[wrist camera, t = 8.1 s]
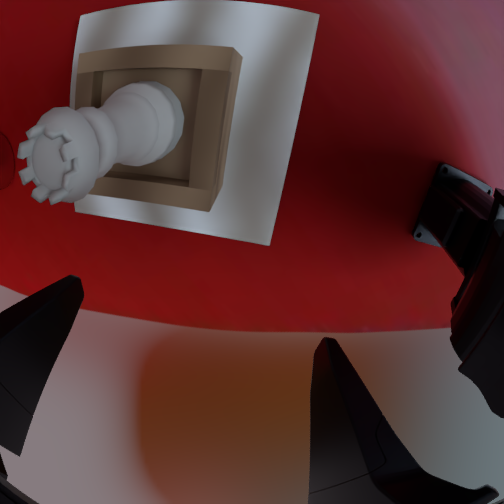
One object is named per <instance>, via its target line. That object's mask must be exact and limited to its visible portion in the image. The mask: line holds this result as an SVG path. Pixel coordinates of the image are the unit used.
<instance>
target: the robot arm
mask: <svg viewBox="0 0 504 504" xmlns="http://www.w3.org/2000/svg"><path fill="white" fill-rule="evenodd" d="M444 167H445V171H444V172H442V170H443V168H444ZM487 191H488V192H487ZM492 193H493V190H492V188H491V187H490V186H489V185H487V184H485V183H483V182H481V181H480V180H478V179H476V178H474V177H472V176H470V175H468V174H466V173H464V172H463V171H461V170H459V169H456V168H454V167H452V166H450V165H448V164H446V163H443V162H442V163H440V164H439V165H438V167H437V170H436V173H435V176H434V179H433V181H432V184H431V187H430V188H429V191H428V193H427V196H426V198H425V201H424V203H423V206H422V208H421V211H420V213H419V217H418V219H417V222H416V224H415V226H414V229H413V231H412V236H413V238H414V239H415V240H417V241H420V242H424V243H428V244H431V245H435V246H438V247H442V248H443V249H444V250H445V252H446V253H447V254H448V256H449V257H450V258H451V259H452V261H453V262H454V263H455V265H456V266H457V268H458V269H459V270H460V272H461V273H462V275H463V276H464V277H465V278H464V280H463V282H462V284H461V286H460V288H459V291H458V293H457V295H456V296H455V297H454V298H453V300H452V301H451V309H452V318H451V332H452V335H451V336H450V341H451V343H452V346H453V348H454V351H455V352H456V354H457V355H458V357H459V358H460V360H461V361H462V364H461V365H460V366H459V368H458V370H459V372H461V373H462V374H464V375H465V376H467V377H468V378H469V379H471V380H472V381H473V383H474V384H475V385H476V386H477V387H478V388H479V389H480V391H481V392H482V394H483V396H484V398H485V399H486V402H487V403H488V405H489V407H490V409H491V411H492V412H493V413H495V414H496V415H498V416H499V417H501V418H504V190H502V189H498V188H495V192H494V198H493V197H491V196H492ZM419 232H420V233H419ZM417 233H419V235H417ZM83 298H84V291H83V287H82V283H81V279H80V278H79V277H77V276H74V275H69V276H67V277H65V278H63V279H61V280H59V281H57V282H55V283H53V284H51V285H49V286H47V287H45V288H44V289H42V290H40V291H38V292H36V293H34V294H32V295H31V296H29V297H27V298H25V299H23V300H22V301H20V302H18V303H16V304H15V305H13V306H11V307H9V308H8V309H6V310H4V311H2V312H1V313H0V445H1V446H3V447H4V448H6V449H8V450H9V451H11V452H12V453H14V454H16V455H18V456H20V455H21V452H22V449H23V445H24V442H25V439H26V436H27V433H28V430H29V426H30V424H31V421H32V418H33V415H34V412H35V409H36V406H37V404H38V401H39V399H40V396H41V394H42V391H43V389H44V386H45V384H46V382H47V379H48V377H49V375H50V372H51V370H52V368H53V366H54V363H55V361H56V359H57V357H58V355H59V353H60V351H61V349H62V347H63V345H64V342H65V340H66V338H67V336H68V334H69V332H70V330H71V328H72V325H73V323H74V320H75V318H76V315H77V313H78V310H79V308H80V306H81V303H82V301H83ZM7 476H8V475H7V472H6V470H5V467H4V464H3V461H2V457H1V454H0V504H39V503H37V502H36V501H34V500H32V499H31V498H30V497H28V496H27V495H25V494H24V493H22V492H21V491H19V490H18V489H17V488H16V487H14V486H13V485H12V484H10V483H9V482H8V481H7ZM498 496H499V493H498V491H497V490H496V489H495V488H493V487H491V486H489V485H484V486H481V487H479V488H477V489H467V488H464V487H461V486H458V485H456V484H453V483H450V482H448V481H445V480H443V479H440V478H438V477H435V476H433V475H431V474H429V473H427V472H426V471H424V470H423V469H422V468H421V467H420V465H419V464H418V463H417V462H416V460H415V459H414V458H413V457H412V455H411V454H410V453H409V451H408V450H407V449H406V447H405V446H404V445H403V443H402V442H401V441H400V439H399V438H398V437H397V435H396V434H395V432H394V431H393V430H392V428H391V426H390V425H389V423H388V421H387V420H386V418H385V417H384V415H382V412H381V410H380V409H379V407H378V405H377V404H376V402H375V401H374V399H373V397H372V396H371V394H370V393H369V391H368V389H367V388H366V386H365V385H364V383H363V381H362V380H361V378H360V377H359V375H358V373H357V372H356V370H355V369H354V367H353V366H352V364H351V363H350V361H349V359H348V358H347V356H346V355H345V353H344V352H343V350H342V348H341V347H340V345H339V344H338V342H337V341H336V340H335V339H333V338H328V337H324V338H323V339H322V340H321V342H320V344H319V345H318V347H317V349H316V350H315V353H314V359H313V370H312V381H311V390H310V476H309V497H308V504H487V503H489V502H490V501H492V500H494V499H495V498H497V497H498ZM492 504H504V499H502V500H499V501H497V502H495V503H492Z"/></svg>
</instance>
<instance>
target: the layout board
mask: <svg viewBox="0 0 504 504" xmlns="http://www.w3.org/2000/svg"><path fill="white" fill-rule="evenodd" d="M318 20H319V14H315V13H311V12H306V11H302V10H297V9H292V8H286V7H281V6H274V5H267V4H260V3H251V2H240V1H225V0H177V1H162V2H151V3H143V4H135V5H128V6H122V7H117V8H111V9H106V10H102V11H97V12H93V13H89V14H85V15H81V17H80V21H79V26H78V32H77V38H76V44H75V51H74V58H73V67H72V77H71V90H70V108H71V109H73V110H75V111H76V110H77V109H79V108H81V107H95V108H97V109H98V108H100V107H102V106H103V105H104V103H105V101H106V100H107V99H108V98H109V97H110V96H111V95H112V94H113V93H114V92H115V91H116V90H118V89H120V88H122V87H124V86H126V85H129V84H131V83H137V82H140V81H156V82H158V83H160V84H162V85H164V86H166V87H168V88H170V89H171V90H172V92H173V93H174V94H175V95H176V97H177V98H178V99H179V101H180V103H181V107H182V111H183V114H184V123H183V131H182V135H181V137H180V139H179V141H178V142H177V144H176V146H175V148H174V149H173V150H172V151H170V152H169V153H168V154H167V155H166V156H164V157H163V158H162V159H158V160H156V161H155V162H153V163H149V164H146V165H142V166H131V165H123V164H121V163H115V164H113V166H112V168H111V169H110V170H109V171H108V172H107V173H106V174H105V175H104V176H103V177H101V178H98V179H96V181H95V184H94V187H93V188H92V189H91V190H90V192H89V193H88V194H87V195H86V196H85V197H84V198H83V199H81V200H78V201H75V202H74V204H75V212H80V213H86V214H92V215H98V216H104V217H110V218H116V219H122V220H128V221H133V222H139V223H145V224H151V225H156V226H162V227H168V228H174V229H179V230H185V231H191V232H196V233H202V234H207V235H213V236H219V237H224V238H230V239H235V240H241V241H246V242H252V243H257V244H263V245H268V246H269V245H270V241H271V237H272V232H273V228H274V224H275V220H276V215H277V211H278V207H279V202H280V198H281V194H282V189H283V185H284V180H285V176H286V172H287V167H288V163H289V158H290V154H291V149H292V145H293V140H294V135H295V131H296V126H297V122H298V117H299V112H300V108H301V103H302V98H303V94H304V89H305V84H306V79H307V74H308V70H309V65H310V60H311V55H312V50H313V45H314V40H315V35H316V30H317V25H318Z"/></svg>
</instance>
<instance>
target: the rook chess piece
mask: <svg viewBox="0 0 504 504" xmlns="http://www.w3.org/2000/svg"><path fill="white" fill-rule="evenodd" d="M183 123H184V114H183V111H182V107H181V103H180V101H179V99H178V98H177V97H176V95H175V94H174V93H173V92H172V90H171V89H170V88H168V87H166V86H164V85H162V84H160V83H158V82H156V81H140V82H137V83H131V84H129V85H126V86H124V87H122V88H120V89H118V90H116V91H115V92H114V93H113V94H112V95H111V96H110V97H109V98H108V99H107V100H106V101H105V103H104V105H103V106H102V107H100V108H98V109H97V108H95V107H81V108H79V109H77V110H76V111H75V110H73V109H71V108H69V107H56V108H53V109H51V110H50V111H48V112H47V113H45V114H44V115H42V116H41V118H40V120H39V121H38V123H37V124H36V125H35V126H34V127H32V128H31V129H29V130H28V131H27V132H26V135H27V137H28V139H29V140H27V141H24V142H22V143H20V144H19V149H18V155H17V158H20V159H24V158H26V157H27V167H26V168H25V169H23V170H21V171H19V175H20V177H21V180H22V183H23V185H25V184H26V183H28V182H30V181H31V180H33V182H34V183H35V185H36V186H37V188H35V189H34V190H33V192H32V195H31V197H33V198H34V199H35V200H37V201H38V202H40V203H42V202H43V201H44V200H46V199H47V198H49V201H50V204H51V205H53V204H55V203H57V202H60V201H63V202H68V203H72V202H75V201H78V200H81V199H83V198H84V197H85V196H86V195H87V194H88V193H89V192H90V190H91V189H92V188H93V187H94V184H95V181H96V179H98V178H101V177H103V176H104V175H105V174H106V173H107V172H108V171H109V170H110V169H111V168H112V166H113V164H115V163H121V164H123V165H131V166H142V165H146V164H149V163H153V162H155V161H156V160H158V159H162V158H163V157H164V156H166V155H167V154H168V153H169V152H170V151H172V150H173V149H174V148H175V146H176V144H177V142H178V141H179V139H180V137H181V135H182V131H183Z"/></svg>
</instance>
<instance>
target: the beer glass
mask: <svg viewBox="0 0 504 504" xmlns="http://www.w3.org/2000/svg"><path fill="white" fill-rule="evenodd" d="M14 167H15V165H14V155H13V151H12V148H11V145H10V143H9V141H8V140H7V138H6V137H5V136H4V135H3V134H1V133H0V190H1V189H4V188H6V187H7V186H9V184H10V183H11V181H12V179H13V176H14Z"/></svg>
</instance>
